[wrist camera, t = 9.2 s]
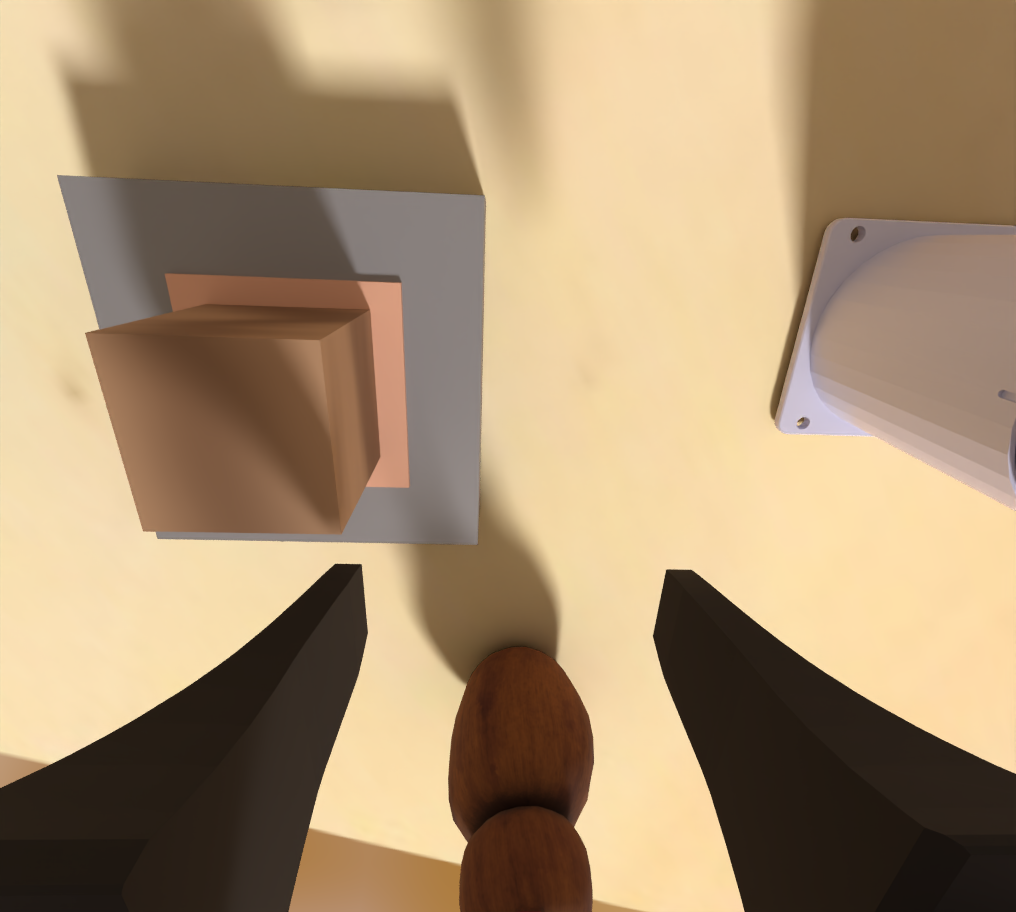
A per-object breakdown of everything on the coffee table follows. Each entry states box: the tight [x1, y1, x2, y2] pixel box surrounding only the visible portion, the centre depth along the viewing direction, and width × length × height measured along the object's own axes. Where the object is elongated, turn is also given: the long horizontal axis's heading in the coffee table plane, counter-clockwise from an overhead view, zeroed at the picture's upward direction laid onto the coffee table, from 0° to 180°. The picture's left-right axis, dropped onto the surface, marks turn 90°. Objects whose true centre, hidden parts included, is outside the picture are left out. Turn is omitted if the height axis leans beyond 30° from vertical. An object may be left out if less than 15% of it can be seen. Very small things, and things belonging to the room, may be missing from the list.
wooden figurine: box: [448, 647, 594, 912], centre depth 19 cm, size 7×6×15 cm
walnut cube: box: [85, 304, 381, 535], centre depth 14 cm, size 5×5×5 cm
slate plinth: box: [57, 175, 486, 545], centre depth 18 cm, size 12×12×3 cm
